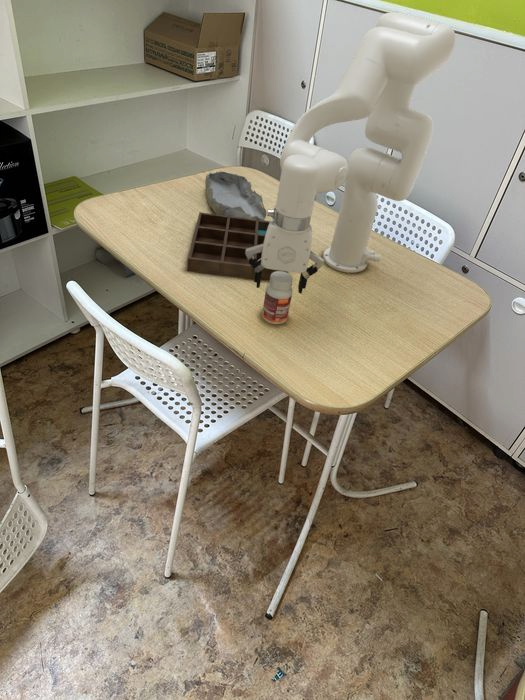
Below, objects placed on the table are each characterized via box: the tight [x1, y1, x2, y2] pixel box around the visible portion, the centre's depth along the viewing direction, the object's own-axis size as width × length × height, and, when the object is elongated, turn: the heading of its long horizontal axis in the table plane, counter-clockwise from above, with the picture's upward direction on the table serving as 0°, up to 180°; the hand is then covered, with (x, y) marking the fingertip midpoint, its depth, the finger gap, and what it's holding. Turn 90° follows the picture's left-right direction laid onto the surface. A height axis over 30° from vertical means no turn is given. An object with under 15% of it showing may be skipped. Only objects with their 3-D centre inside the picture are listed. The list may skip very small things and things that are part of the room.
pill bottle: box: [261, 271, 293, 325], centre depth 121 cm, size 6×6×11 cm
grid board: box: [186, 211, 289, 282], centre depth 143 cm, size 26×26×4 cm
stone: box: [204, 170, 268, 221], centre depth 162 cm, size 14×8×30 cm
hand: (278, 287), depth 118 cm, fingers open, 9 cm apart
